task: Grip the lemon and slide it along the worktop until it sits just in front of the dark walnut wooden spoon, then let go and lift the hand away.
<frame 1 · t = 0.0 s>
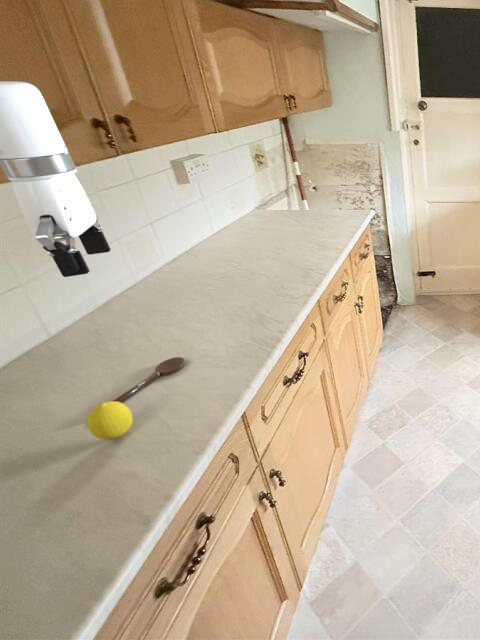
hand: (89, 263, 70), 31 cm above the countertop, tool pointing down, fingers open, 9 cm apart
lemon: (120, 437, 74), on the countertop
spoon: (143, 386, 85), on the countertop
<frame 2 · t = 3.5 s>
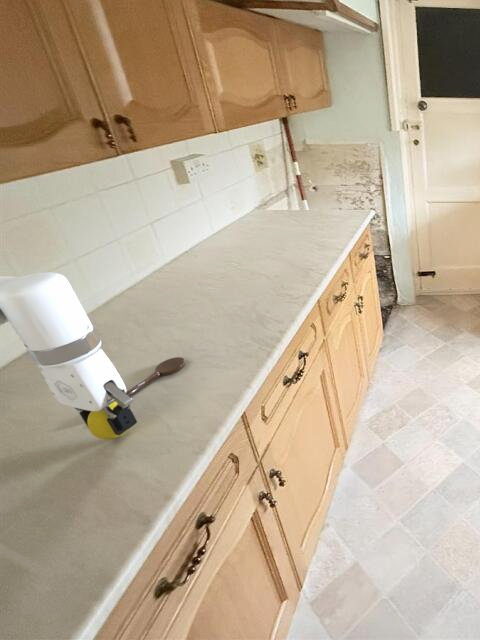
hand: (113, 424, 72), 3 cm above the countertop, tool pointing down, fingers closed on lemon, 5 cm apart
lemon: (120, 437, 74), on the countertop, touching gripper
everything else where it was.
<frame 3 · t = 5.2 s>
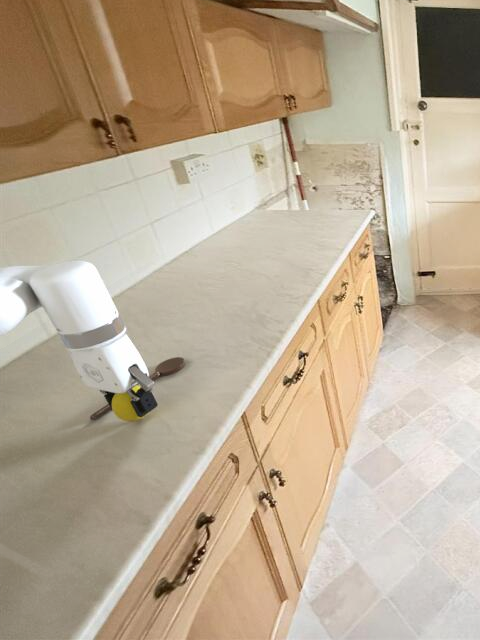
hand: (135, 407, 76), 3 cm above the countertop, tool pointing down, fingers closed on lemon, 5 cm apart
lemon: (141, 419, 77), on the countertop, touching gripper
everything else where it was.
when the fingers open (3 cm above the countertop, at t = 7.0 s): lemon stays where it is, on the countertop.
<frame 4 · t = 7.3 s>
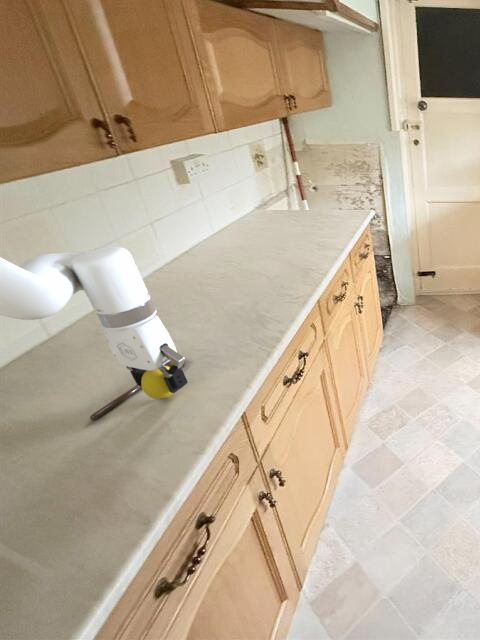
hand: (163, 384, 81), 3 cm above the countertop, tool pointing down, fingers open, 7 cm apart
lemon: (168, 397, 82), on the countertop
everything else where it was.
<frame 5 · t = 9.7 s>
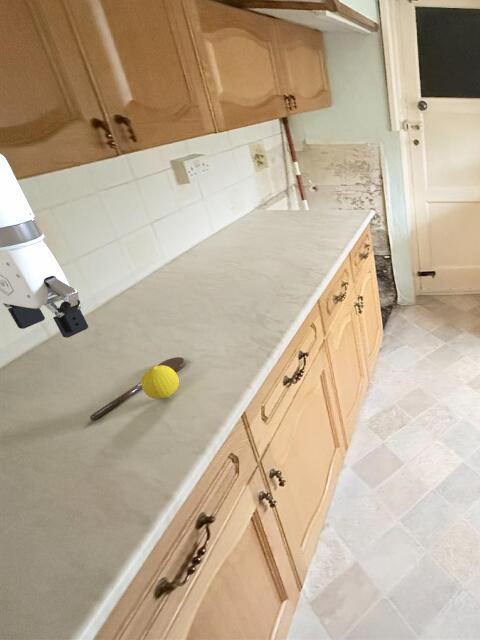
hand: (54, 328, 67), 22 cm above the countertop, tool pointing down, fingers open, 9 cm apart
nothing on the countertop moved.
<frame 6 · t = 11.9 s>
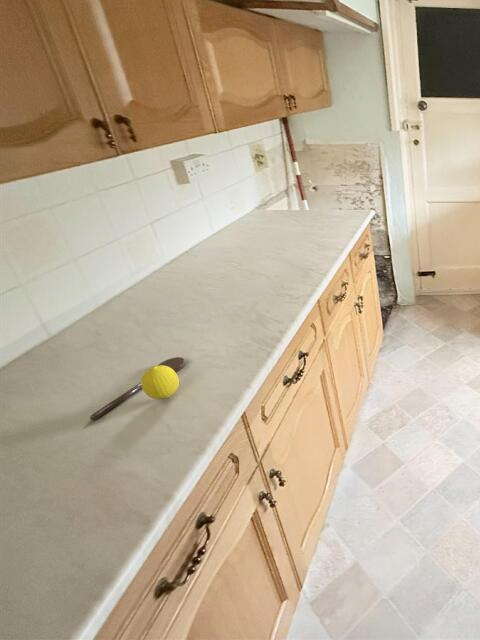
nothing on the countertop moved.
at the end: lemon inside the target area on the countertop beside the spoon (2.1 cm from its centre), on the countertop; lemon moved 9.8 cm from its start; spoon moved 0.0 cm from its start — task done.
